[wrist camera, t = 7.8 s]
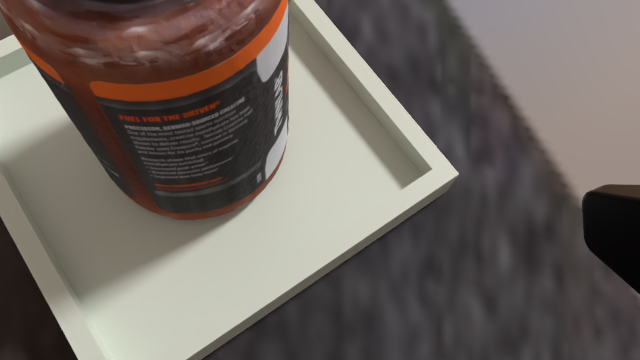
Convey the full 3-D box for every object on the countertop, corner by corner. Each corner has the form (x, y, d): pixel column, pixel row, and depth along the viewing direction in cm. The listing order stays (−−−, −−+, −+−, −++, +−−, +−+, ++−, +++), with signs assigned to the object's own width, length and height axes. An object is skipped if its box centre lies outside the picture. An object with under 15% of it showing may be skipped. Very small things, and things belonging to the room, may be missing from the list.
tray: (446, 191, 20) (459, 173, 19) (121, 414, 17) (107, 413, 16) (251, -48, 24) (249, -77, 22) (-52, 100, 20) (-76, 76, 19)
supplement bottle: (325, 149, 20) (374, -160, 9) (180, 265, 18) (42, 41, 8) (213, 34, 21) (147, -343, 11) (68, 131, 20) (-174, -209, 9)
